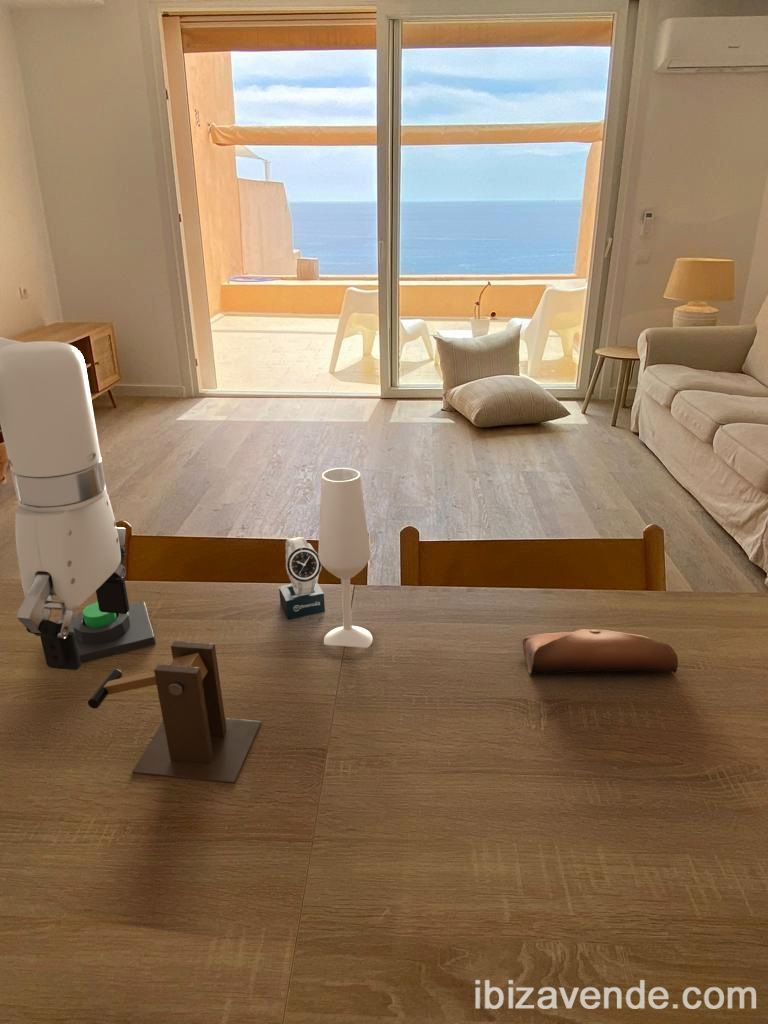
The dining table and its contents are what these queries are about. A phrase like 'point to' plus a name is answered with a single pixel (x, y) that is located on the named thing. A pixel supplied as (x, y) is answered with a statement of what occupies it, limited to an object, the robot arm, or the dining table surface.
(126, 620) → the button box
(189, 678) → the switch bracket
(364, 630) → the champagne flute
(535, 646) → the sunglasses case
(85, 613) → the light button
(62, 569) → the robot arm
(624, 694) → the dining table surface
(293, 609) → the watch
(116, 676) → the lever
